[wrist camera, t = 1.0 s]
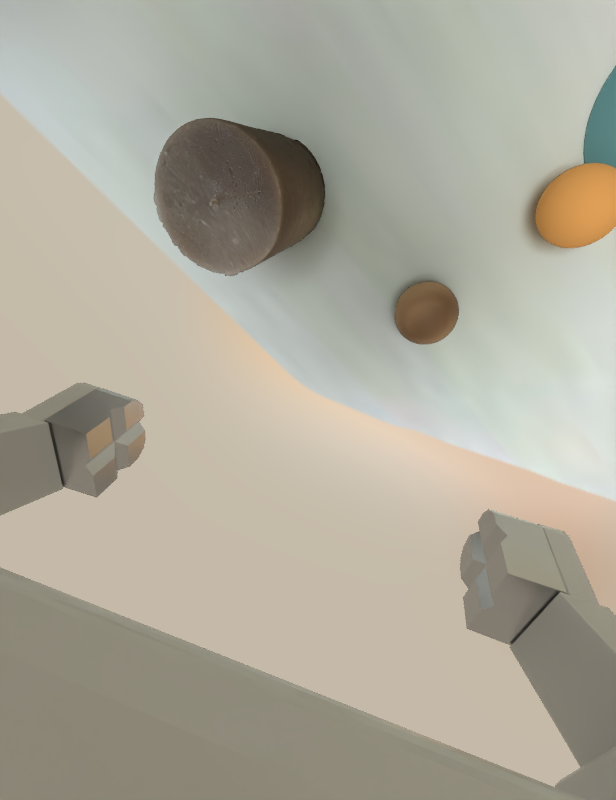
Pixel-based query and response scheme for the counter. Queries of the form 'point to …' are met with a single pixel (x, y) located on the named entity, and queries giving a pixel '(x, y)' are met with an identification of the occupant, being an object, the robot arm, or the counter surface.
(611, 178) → the orange ball
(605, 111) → the teal mark
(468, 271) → the counter surface
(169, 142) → the pillar candle
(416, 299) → the walnut ball
